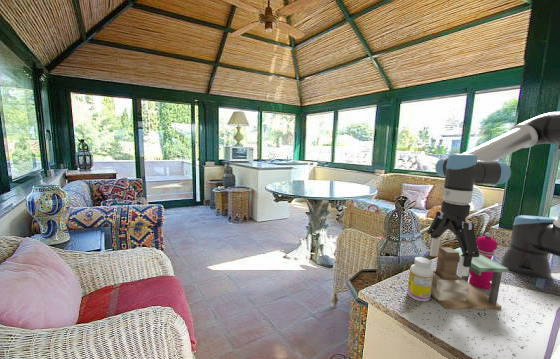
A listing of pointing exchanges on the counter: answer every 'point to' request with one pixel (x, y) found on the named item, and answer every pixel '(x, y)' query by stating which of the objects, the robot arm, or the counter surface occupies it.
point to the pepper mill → (487, 249)
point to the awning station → (469, 287)
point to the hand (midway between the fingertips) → (447, 264)
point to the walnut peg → (447, 263)
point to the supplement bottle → (420, 279)
